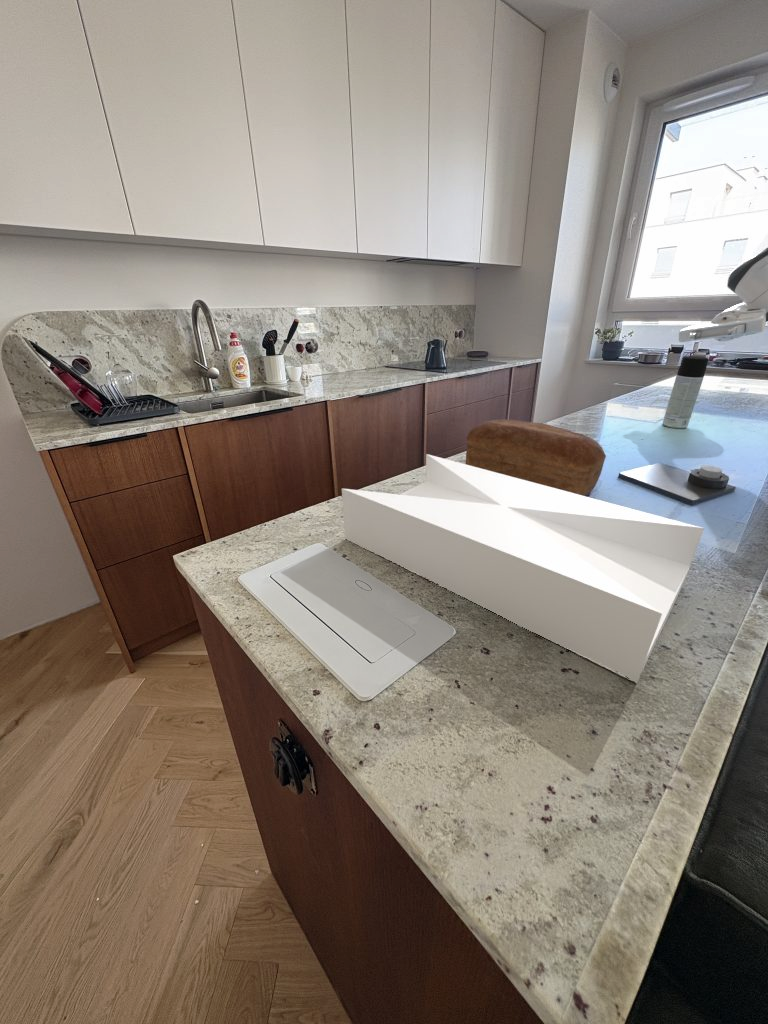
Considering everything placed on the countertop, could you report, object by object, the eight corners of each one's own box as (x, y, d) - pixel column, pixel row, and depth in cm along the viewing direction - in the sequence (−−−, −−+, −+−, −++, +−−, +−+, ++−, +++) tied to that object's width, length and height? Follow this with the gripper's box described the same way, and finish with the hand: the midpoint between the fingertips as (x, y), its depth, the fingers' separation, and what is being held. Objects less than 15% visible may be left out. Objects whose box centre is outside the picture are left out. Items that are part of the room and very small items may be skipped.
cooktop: (734, 492, 86) (740, 478, 84) (691, 506, 80) (696, 491, 79) (659, 467, 99) (663, 454, 97) (617, 477, 93) (620, 465, 92)
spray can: (685, 424, 130) (707, 356, 121) (689, 430, 125) (712, 359, 116) (660, 422, 133) (680, 355, 124) (663, 427, 127) (683, 358, 118)
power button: (723, 477, 86) (726, 469, 85) (712, 480, 84) (715, 472, 84) (704, 472, 89) (707, 464, 88) (694, 475, 87) (697, 467, 87)
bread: (487, 458, 106) (492, 409, 100) (604, 488, 88) (618, 431, 83) (455, 473, 97) (458, 421, 91) (578, 510, 79) (591, 448, 74)
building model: (345, 539, 71) (341, 488, 67) (424, 497, 86) (426, 453, 81) (636, 684, 44) (662, 613, 40) (682, 587, 58) (704, 527, 54)
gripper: (689, 320, 135) (669, 330, 128) (773, 306, 118) (756, 316, 112) (688, 341, 137) (669, 351, 131) (771, 330, 121) (754, 341, 114)
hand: (710, 335), depth 121 cm, fingers open, 8 cm apart
